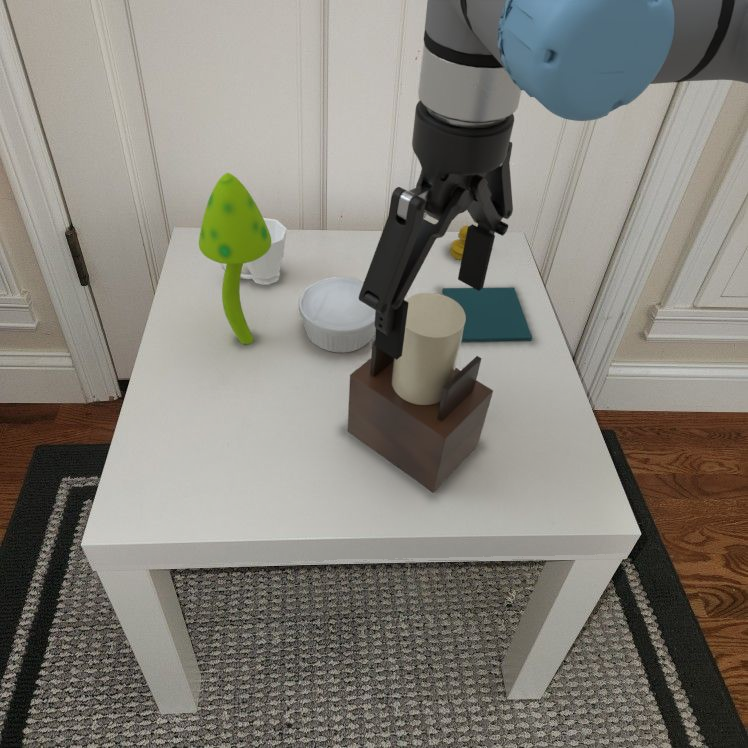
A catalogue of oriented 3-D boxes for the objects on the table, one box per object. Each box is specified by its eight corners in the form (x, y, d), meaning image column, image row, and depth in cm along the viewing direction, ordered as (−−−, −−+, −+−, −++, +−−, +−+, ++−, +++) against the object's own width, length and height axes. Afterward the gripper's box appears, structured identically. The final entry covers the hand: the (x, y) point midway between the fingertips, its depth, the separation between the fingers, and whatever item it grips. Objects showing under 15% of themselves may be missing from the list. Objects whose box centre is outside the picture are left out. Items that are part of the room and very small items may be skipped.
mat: (513, 290, 100) (514, 287, 99) (531, 340, 92) (532, 337, 92) (442, 291, 99) (442, 287, 98) (454, 342, 91) (454, 339, 91)
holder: (477, 445, 79) (502, 358, 68) (433, 493, 74) (452, 406, 63) (394, 390, 84) (404, 301, 73) (347, 431, 79) (351, 342, 68)
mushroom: (273, 363, 86) (260, 196, 68) (209, 359, 86) (178, 190, 68) (281, 321, 92) (272, 156, 74) (221, 316, 92) (197, 150, 74)
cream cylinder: (463, 381, 72) (479, 313, 65) (427, 415, 69) (439, 347, 62) (416, 352, 75) (425, 283, 68) (379, 383, 71) (385, 314, 64)
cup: (292, 287, 97) (291, 242, 91) (224, 296, 95) (217, 250, 89) (284, 259, 102) (282, 214, 96) (219, 266, 100) (212, 221, 94)
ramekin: (291, 311, 94) (290, 282, 90) (366, 299, 96) (368, 270, 93) (310, 366, 86) (310, 337, 83) (390, 351, 89) (393, 322, 85)
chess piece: (448, 245, 107) (453, 219, 103) (472, 245, 107) (477, 219, 103) (452, 260, 104) (456, 234, 100) (476, 260, 104) (482, 234, 101)
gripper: (511, 46, 58) (471, 245, 73) (314, 144, 44) (316, 362, 60) (588, 73, 55) (529, 274, 70) (402, 188, 41) (380, 406, 57)
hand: (431, 315), depth 65 cm, fingers open, 13 cm apart
